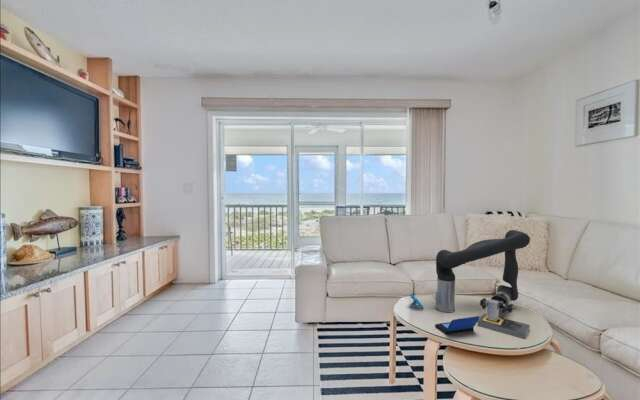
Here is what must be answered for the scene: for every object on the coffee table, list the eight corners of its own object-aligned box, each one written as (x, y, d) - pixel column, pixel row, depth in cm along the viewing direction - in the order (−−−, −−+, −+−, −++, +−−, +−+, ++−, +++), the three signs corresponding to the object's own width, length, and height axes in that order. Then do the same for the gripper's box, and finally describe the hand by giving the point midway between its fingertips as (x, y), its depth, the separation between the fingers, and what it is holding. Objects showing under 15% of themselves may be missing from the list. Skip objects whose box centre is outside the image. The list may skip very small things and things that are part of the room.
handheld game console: (460, 323, 159) (461, 305, 159) (480, 335, 146) (481, 316, 146) (433, 326, 155) (434, 308, 154) (451, 339, 142) (452, 319, 142)
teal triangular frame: (425, 309, 172) (411, 295, 174) (417, 316, 173) (404, 301, 175) (424, 304, 182) (411, 291, 185) (416, 311, 183) (404, 297, 186)
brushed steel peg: (487, 325, 157) (488, 301, 156) (489, 322, 160) (490, 299, 159) (496, 327, 154) (497, 303, 153) (498, 324, 157) (499, 301, 156)
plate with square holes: (477, 325, 156) (477, 320, 156) (484, 318, 165) (484, 313, 165) (525, 338, 142) (525, 333, 142) (529, 330, 151) (529, 324, 151)
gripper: (486, 290, 172) (477, 298, 160) (516, 296, 162) (509, 305, 150) (485, 303, 172) (477, 312, 160) (515, 310, 163) (509, 320, 151)
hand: (492, 309), depth 155 cm, fingers open, 8 cm apart
